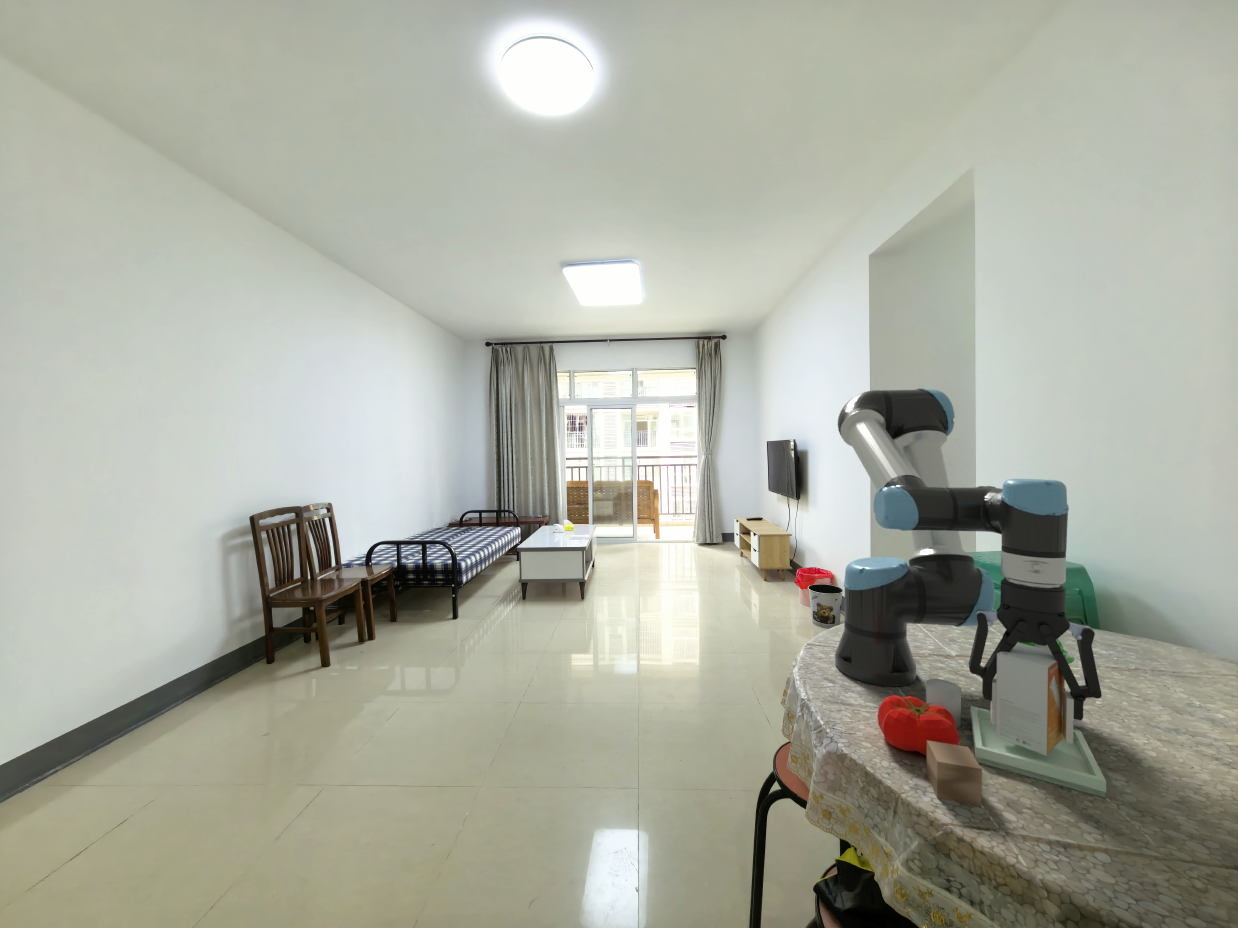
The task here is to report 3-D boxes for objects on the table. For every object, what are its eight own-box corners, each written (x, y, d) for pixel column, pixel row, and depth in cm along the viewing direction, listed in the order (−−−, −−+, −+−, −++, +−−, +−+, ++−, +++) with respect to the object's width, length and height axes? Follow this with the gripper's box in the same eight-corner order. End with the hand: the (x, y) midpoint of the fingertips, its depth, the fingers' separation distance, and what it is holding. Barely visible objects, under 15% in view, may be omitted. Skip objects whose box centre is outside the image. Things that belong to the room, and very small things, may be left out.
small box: (1047, 757, 70) (1048, 667, 69) (994, 736, 75) (995, 652, 75) (1065, 738, 74) (1066, 653, 74) (1013, 720, 79) (1014, 640, 79)
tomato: (961, 775, 70) (961, 730, 69) (874, 751, 75) (875, 709, 75) (957, 741, 78) (957, 700, 78) (879, 721, 84) (879, 683, 83)
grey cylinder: (925, 722, 83) (925, 687, 83) (926, 709, 87) (926, 676, 87) (961, 731, 80) (961, 695, 80) (960, 717, 85) (960, 683, 84)
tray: (975, 761, 73) (975, 746, 72) (970, 718, 84) (970, 705, 84) (1106, 797, 65) (1106, 781, 65) (1080, 744, 77) (1080, 731, 76)
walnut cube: (936, 798, 65) (937, 761, 65) (926, 774, 70) (926, 740, 70) (981, 806, 63) (981, 768, 63) (967, 781, 68) (967, 746, 68)
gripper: (950, 577, 76) (948, 720, 77) (1137, 598, 65) (1133, 766, 66) (949, 567, 83) (947, 699, 83) (1120, 585, 71) (1117, 738, 72)
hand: (1029, 728), depth 75 cm, fingers closed on small box, 8 cm apart
